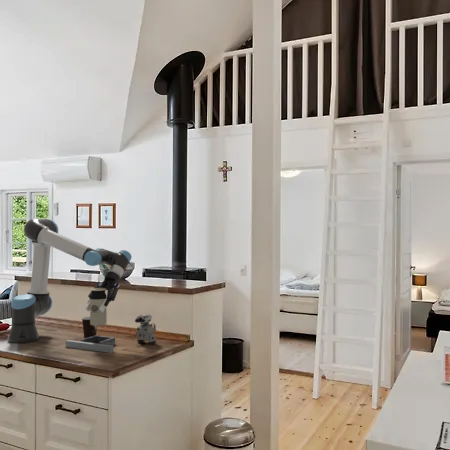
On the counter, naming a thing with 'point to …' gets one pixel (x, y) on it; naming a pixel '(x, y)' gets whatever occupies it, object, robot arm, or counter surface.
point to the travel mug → (97, 307)
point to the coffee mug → (88, 327)
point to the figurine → (145, 329)
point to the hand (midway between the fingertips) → (93, 310)
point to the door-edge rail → (89, 346)
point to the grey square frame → (100, 340)
